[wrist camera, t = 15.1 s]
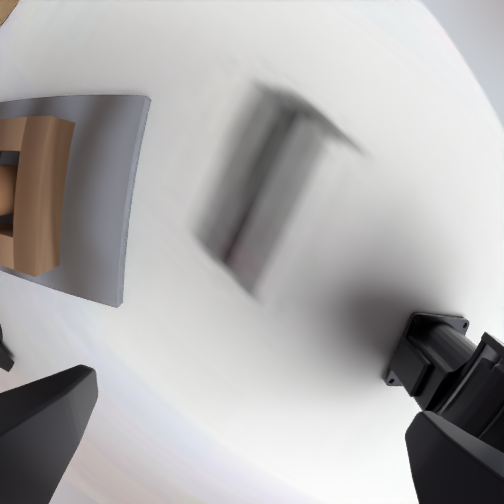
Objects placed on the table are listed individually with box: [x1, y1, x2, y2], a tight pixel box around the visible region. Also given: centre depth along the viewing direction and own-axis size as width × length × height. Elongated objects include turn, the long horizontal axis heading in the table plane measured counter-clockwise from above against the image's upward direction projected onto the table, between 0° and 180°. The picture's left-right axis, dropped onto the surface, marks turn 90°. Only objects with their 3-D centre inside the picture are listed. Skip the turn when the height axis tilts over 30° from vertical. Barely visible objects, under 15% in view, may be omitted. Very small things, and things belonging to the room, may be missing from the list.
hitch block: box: [0, 95, 151, 308], centre depth 16 cm, size 20×14×4 cm
